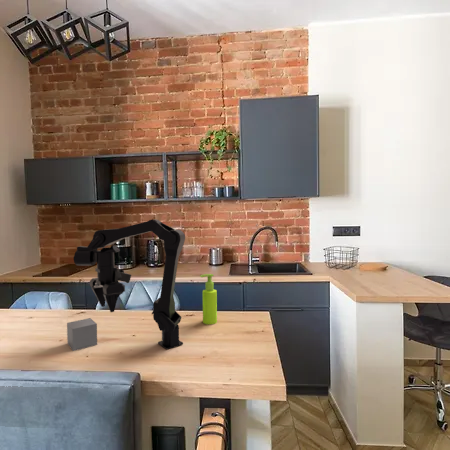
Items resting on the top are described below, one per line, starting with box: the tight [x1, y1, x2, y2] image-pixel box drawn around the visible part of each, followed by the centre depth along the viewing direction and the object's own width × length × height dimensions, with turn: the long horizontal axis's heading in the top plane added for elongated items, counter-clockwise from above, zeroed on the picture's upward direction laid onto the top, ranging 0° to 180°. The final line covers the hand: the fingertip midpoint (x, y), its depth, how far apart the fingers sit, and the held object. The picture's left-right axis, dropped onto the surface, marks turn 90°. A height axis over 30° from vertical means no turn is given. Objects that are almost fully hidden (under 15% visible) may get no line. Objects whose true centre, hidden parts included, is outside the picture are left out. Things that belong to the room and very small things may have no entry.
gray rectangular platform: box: [66, 317, 98, 352], centre depth 105 cm, size 8×8×7 cm
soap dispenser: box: [199, 273, 218, 325], centre depth 126 cm, size 6×7×20 cm
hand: (107, 309), depth 107 cm, fingers open, 9 cm apart
